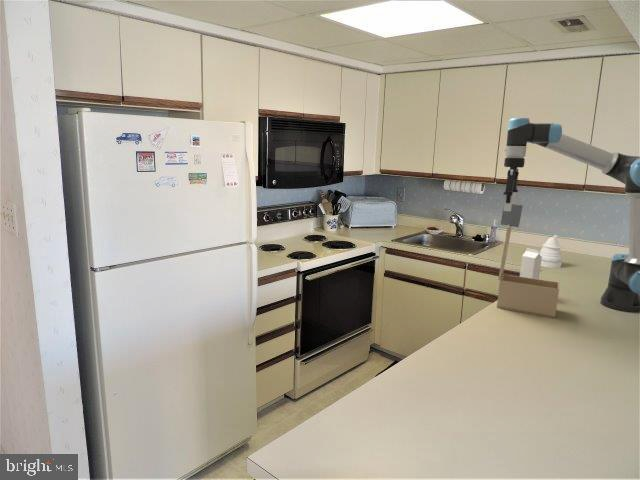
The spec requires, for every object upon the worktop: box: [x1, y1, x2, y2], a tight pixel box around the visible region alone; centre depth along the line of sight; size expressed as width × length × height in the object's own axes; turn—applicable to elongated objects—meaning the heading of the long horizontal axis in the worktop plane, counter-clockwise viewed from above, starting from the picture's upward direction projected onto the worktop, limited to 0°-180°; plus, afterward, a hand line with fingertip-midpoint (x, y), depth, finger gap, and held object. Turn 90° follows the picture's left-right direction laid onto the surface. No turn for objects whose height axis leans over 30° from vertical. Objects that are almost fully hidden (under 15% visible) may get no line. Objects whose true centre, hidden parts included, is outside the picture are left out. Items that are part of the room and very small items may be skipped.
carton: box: [496, 273, 560, 319], centre depth 189 cm, size 22×11×12 cm, turn 62°
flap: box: [497, 203, 524, 281], centre depth 189 cm, size 32×12×7 cm
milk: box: [519, 247, 542, 279], centre depth 205 cm, size 6×6×22 cm
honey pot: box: [539, 234, 563, 269], centre depth 262 cm, size 13×13×18 cm
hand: (509, 209), depth 187 cm, fingers open, 13 cm apart
